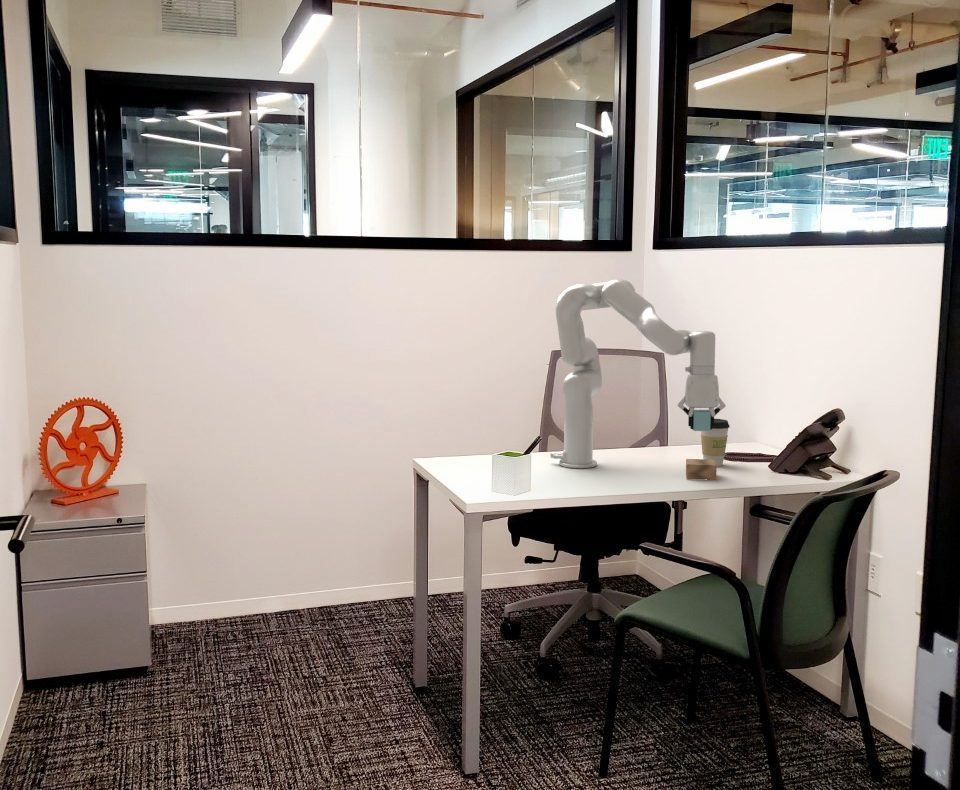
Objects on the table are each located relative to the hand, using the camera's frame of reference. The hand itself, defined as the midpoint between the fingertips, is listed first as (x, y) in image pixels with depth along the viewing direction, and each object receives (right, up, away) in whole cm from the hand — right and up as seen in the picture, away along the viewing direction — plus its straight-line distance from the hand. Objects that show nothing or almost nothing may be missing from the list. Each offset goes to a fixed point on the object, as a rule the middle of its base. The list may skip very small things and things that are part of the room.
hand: (701, 428), depth 290 cm
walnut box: (0, -16, +2) cm, 16 cm away
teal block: (0, 0, 0) cm, 1 cm away
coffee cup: (+9, -13, +20) cm, 26 cm away
